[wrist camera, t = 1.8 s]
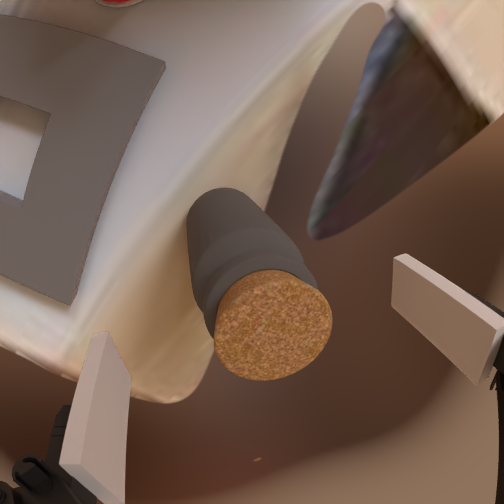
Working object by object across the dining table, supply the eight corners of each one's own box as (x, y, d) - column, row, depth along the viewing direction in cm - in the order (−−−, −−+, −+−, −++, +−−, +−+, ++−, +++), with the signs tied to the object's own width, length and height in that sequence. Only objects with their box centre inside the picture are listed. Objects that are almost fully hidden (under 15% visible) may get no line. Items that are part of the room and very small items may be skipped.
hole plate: (-77, 217, 18) (-88, 223, 16) (-18, 15, 13) (-29, 10, 11) (76, 294, 25) (70, 305, 23) (166, 67, 20) (164, 61, 18)
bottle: (225, 270, 27) (273, 406, 13) (171, 227, 25) (166, 350, 11) (273, 219, 26) (371, 319, 13) (221, 171, 24) (279, 232, 10)
